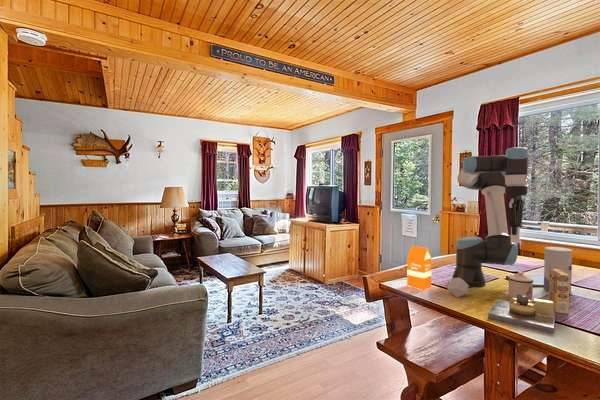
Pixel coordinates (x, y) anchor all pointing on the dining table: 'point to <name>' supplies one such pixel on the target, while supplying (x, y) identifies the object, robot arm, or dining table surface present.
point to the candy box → (559, 290)
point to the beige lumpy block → (532, 307)
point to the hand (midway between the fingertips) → (515, 242)
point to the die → (458, 287)
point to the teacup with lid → (520, 285)
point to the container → (557, 263)
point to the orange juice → (419, 268)
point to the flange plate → (521, 316)
